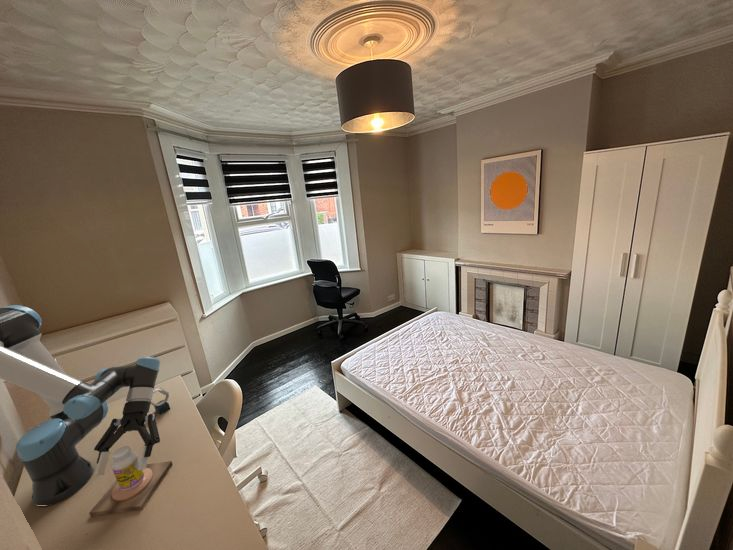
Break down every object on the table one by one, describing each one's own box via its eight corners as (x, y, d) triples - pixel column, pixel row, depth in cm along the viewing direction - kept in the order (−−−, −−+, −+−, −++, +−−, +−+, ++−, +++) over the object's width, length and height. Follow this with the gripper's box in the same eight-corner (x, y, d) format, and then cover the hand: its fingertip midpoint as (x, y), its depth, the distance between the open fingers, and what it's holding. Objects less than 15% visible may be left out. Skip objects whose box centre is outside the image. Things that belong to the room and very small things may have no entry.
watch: (174, 406, 139) (168, 386, 137) (155, 417, 133) (148, 396, 130) (170, 402, 143) (163, 383, 140) (151, 412, 137) (143, 392, 134)
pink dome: (103, 503, 93) (102, 501, 93) (129, 472, 104) (128, 470, 103) (138, 498, 93) (137, 496, 93) (160, 468, 104) (159, 465, 103)
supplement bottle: (116, 494, 94) (102, 463, 91) (126, 476, 100) (114, 446, 97) (139, 487, 96) (127, 456, 92) (148, 470, 102) (137, 440, 99)
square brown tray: (90, 516, 91) (88, 512, 90) (128, 470, 106) (127, 466, 106) (142, 509, 91) (140, 505, 91) (172, 464, 107) (171, 461, 106)
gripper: (179, 398, 108) (166, 466, 97) (111, 407, 108) (91, 476, 97) (166, 395, 102) (151, 468, 91) (94, 405, 101) (70, 478, 91)
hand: (120, 472), depth 94 cm, fingers open, 13 cm apart
